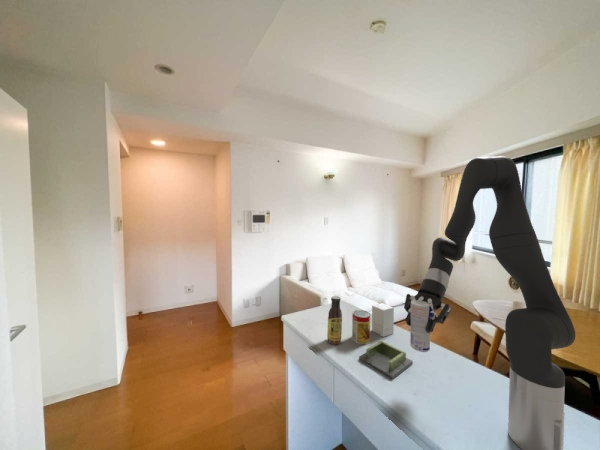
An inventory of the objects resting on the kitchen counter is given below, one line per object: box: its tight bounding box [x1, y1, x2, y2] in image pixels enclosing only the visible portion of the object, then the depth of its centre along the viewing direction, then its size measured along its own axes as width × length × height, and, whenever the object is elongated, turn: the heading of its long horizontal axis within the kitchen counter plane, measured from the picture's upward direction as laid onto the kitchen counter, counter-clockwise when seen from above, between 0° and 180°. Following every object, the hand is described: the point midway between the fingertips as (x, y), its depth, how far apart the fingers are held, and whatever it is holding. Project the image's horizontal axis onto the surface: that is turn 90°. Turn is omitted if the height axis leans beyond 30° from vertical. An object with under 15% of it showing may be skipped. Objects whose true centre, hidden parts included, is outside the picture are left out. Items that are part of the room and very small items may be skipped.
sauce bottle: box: [326, 295, 343, 345], centre depth 102 cm, size 7×6×20 cm
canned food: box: [351, 309, 371, 345], centre depth 104 cm, size 8×8×12 cm
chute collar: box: [358, 340, 414, 380], centre depth 87 cm, size 14×14×4 cm
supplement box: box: [371, 302, 395, 338], centre depth 111 cm, size 7×7×13 cm
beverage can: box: [409, 300, 431, 353], centre depth 74 cm, size 6×6×15 cm
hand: (417, 327), depth 73 cm, fingers closed on beverage can, 5 cm apart
